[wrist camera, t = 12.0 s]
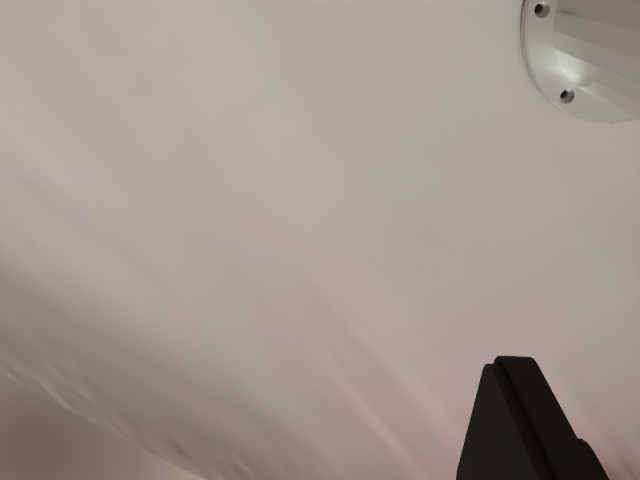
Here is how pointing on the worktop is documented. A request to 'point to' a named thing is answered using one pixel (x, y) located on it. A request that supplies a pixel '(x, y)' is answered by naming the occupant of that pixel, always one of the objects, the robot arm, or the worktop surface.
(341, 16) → the worktop surface
